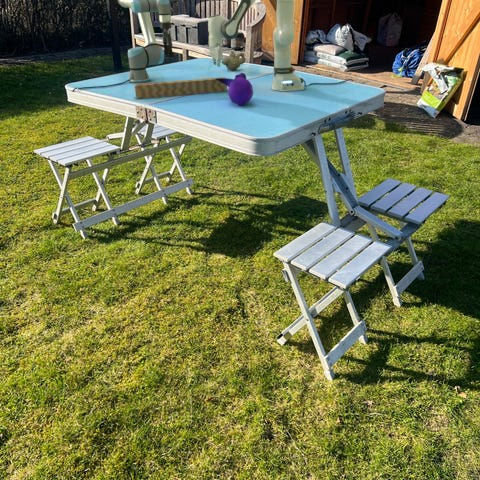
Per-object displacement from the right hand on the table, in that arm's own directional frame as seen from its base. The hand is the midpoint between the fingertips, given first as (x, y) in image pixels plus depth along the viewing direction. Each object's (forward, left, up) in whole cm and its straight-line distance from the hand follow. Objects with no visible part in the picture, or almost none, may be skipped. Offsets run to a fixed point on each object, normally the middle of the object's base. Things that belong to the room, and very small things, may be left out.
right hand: (216, 65), depth 296 cm
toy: (-10, +34, -16) cm, 39 cm away
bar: (+24, +5, -16) cm, 30 cm away
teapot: (-17, -77, -16) cm, 81 cm away
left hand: (+32, -23, +4) cm, 40 cm away
